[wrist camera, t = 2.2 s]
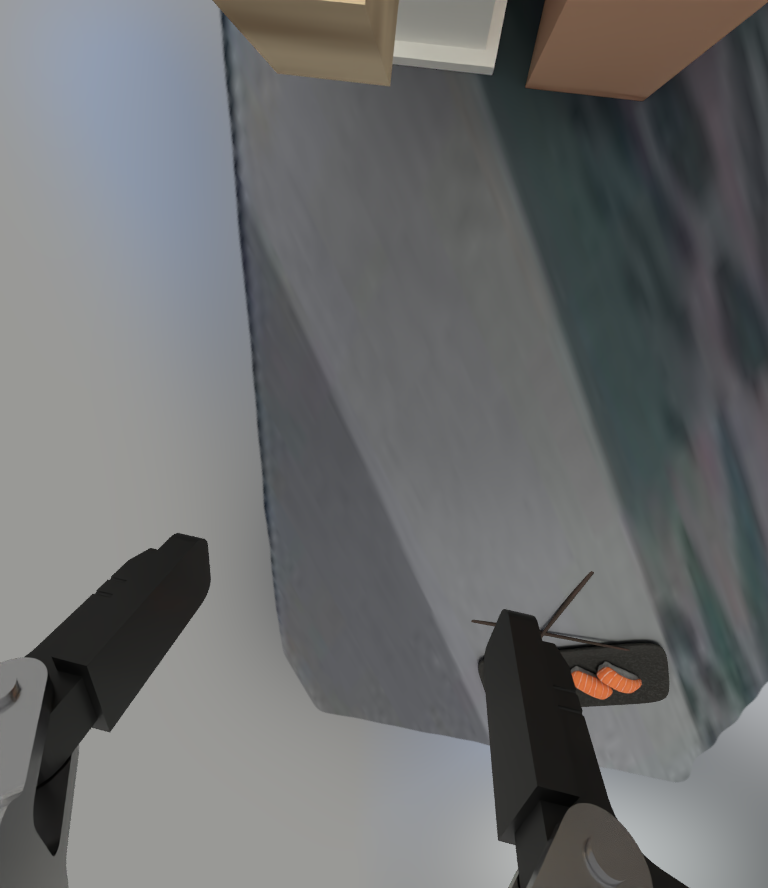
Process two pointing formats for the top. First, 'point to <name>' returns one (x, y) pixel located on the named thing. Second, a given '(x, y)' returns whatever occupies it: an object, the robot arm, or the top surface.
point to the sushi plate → (610, 668)
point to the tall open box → (626, 43)
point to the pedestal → (449, 34)
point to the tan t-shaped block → (321, 36)
